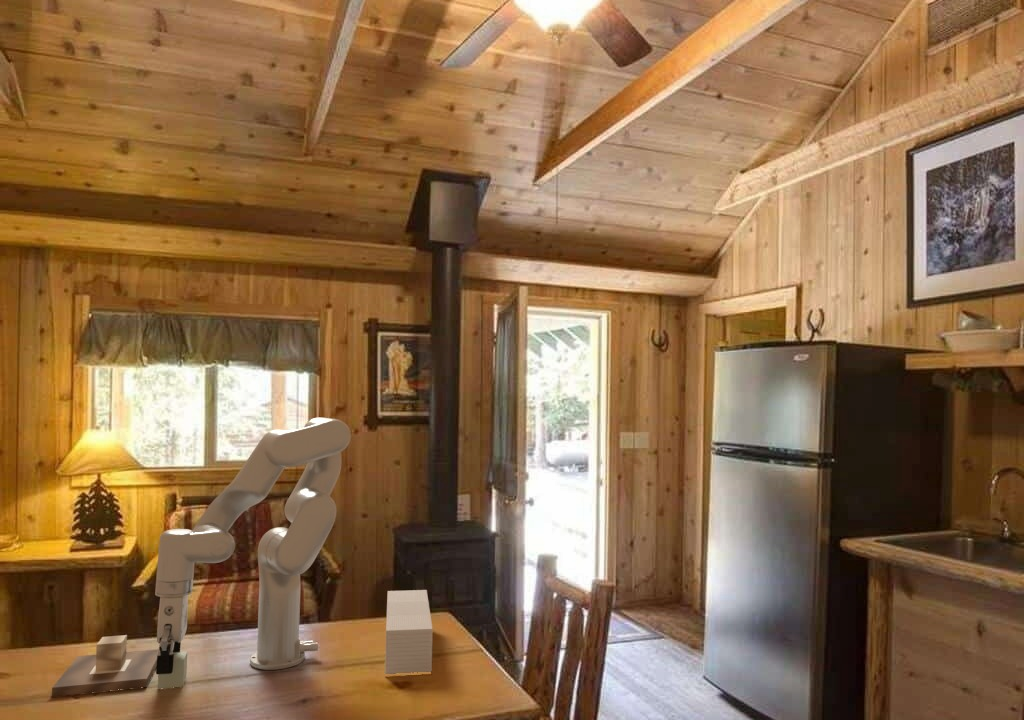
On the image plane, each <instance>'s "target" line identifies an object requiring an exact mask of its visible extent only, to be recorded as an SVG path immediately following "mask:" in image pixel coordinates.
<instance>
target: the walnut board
mask: <svg viewBox="0 0 1024 720" xmlns="http://www.w3.org/2000/svg"><path fill="white" fill-rule="evenodd" d="M158 651H159V648H158V649H148V650H138V651H135V650H134V651H126V662H125V664H124V665H123V667H122V668H121V670H112V671H101V672H95V671H96V654H90V655H89V654H88V655H77V656H76V657H75V658H74V659H73V661H72V662H71V663H70V664H69V666H68V667H67V668H66V670H64V672H63V673H62V674H61V676H60V677H59V679H57V681H56V682H55V683H54V685H53V686H52V688H51V698H58V697H57V696H60V697H66V696H65V695H70V696H74V695H73V694H80V695H83V694H82V693H90V694H93V693H92V692H100V693H104V692H103V691H110V690H118V689H119V690H120V689H130V688H141V687H147V688H148V686H149V684H150V682H149V681H151V680H150V679H152V678H151V677H153V676H152V675H154V674H155V672H156V665H157V655H158ZM154 671H155V672H154ZM153 673H154V674H153ZM148 683H149V684H148ZM147 685H148V686H147ZM141 689H142V688H141ZM110 692H111V691H110Z"/></svg>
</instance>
